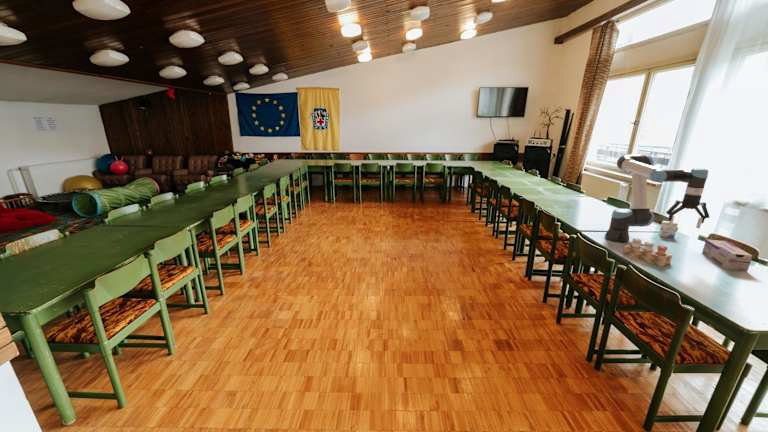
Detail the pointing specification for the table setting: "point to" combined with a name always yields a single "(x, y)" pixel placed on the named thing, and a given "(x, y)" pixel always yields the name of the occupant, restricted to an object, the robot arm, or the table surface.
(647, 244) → the grey plunger middle
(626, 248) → the press block
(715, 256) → the surgical sutures box
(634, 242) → the grey plunger near
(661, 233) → the ink box
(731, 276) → the table surface
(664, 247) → the terracotta plunger
